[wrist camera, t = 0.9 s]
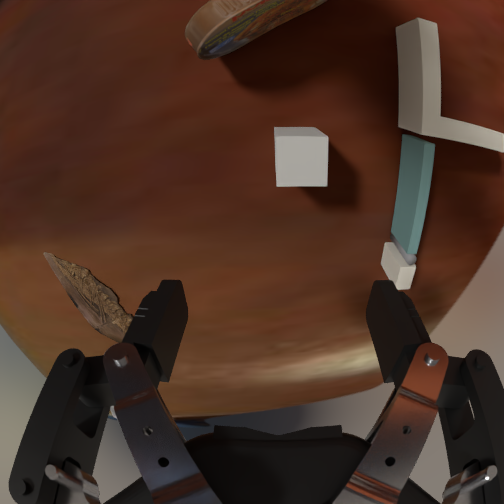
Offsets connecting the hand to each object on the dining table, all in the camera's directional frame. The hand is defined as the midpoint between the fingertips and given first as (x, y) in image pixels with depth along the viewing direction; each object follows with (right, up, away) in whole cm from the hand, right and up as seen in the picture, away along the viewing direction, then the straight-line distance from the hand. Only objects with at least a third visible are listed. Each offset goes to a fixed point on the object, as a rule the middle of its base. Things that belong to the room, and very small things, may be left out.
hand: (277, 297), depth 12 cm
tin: (0, +24, +8) cm, 26 cm away
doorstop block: (+3, +12, +15) cm, 20 cm away
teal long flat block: (+16, +9, +16) cm, 24 cm away
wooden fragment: (-25, -7, +29) cm, 39 cm away
